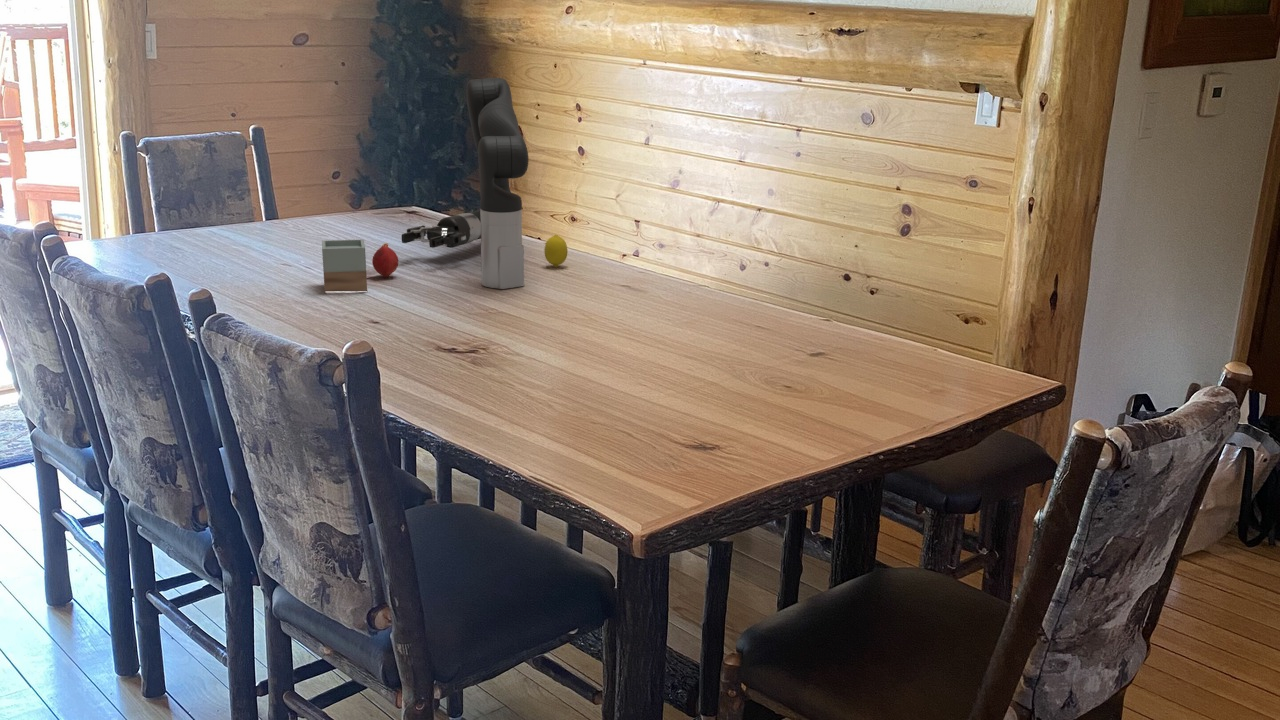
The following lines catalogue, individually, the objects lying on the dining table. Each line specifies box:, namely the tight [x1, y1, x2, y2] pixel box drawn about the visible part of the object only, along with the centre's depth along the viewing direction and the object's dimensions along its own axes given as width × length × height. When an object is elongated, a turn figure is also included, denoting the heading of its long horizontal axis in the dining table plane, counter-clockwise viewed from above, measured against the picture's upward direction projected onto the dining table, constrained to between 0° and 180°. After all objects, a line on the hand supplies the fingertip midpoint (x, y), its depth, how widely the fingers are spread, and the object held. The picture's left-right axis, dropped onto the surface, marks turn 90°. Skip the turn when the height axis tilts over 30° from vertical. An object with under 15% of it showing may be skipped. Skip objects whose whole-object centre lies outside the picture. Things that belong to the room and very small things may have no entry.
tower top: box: [321, 238, 367, 274], centre depth 255 cm, size 9×9×5 cm
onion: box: [372, 242, 399, 278], centre depth 267 cm, size 6×6×8 cm
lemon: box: [544, 234, 568, 268], centre depth 281 cm, size 6×6×8 cm
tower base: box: [323, 270, 368, 292], centre depth 257 cm, size 9×9×5 cm
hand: (416, 241), depth 276 cm, fingers open, 8 cm apart
